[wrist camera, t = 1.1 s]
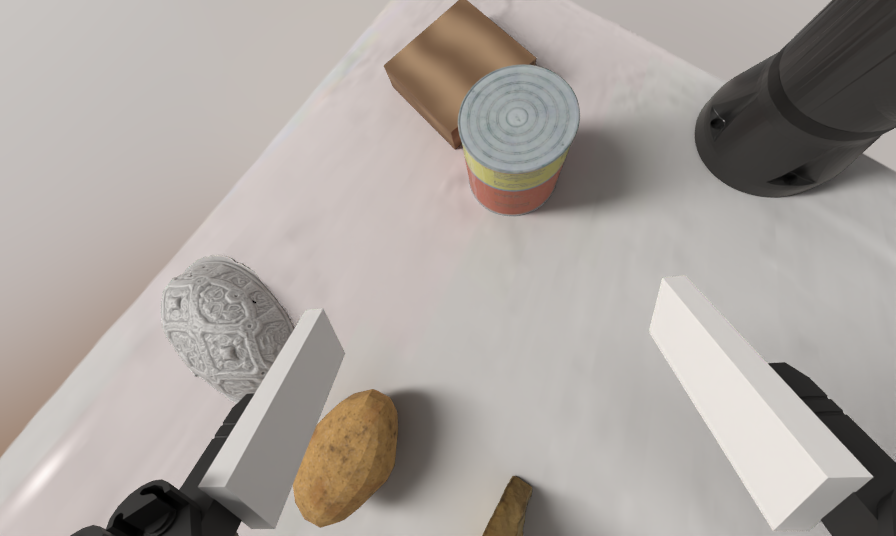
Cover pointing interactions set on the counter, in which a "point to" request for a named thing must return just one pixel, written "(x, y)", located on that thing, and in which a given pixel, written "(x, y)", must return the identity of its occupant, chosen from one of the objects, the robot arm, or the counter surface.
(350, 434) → the potato
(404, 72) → the walnut base
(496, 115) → the canned food
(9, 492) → the counter surface
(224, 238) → the counter surface
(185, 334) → the silver oval dome
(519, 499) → the rock
